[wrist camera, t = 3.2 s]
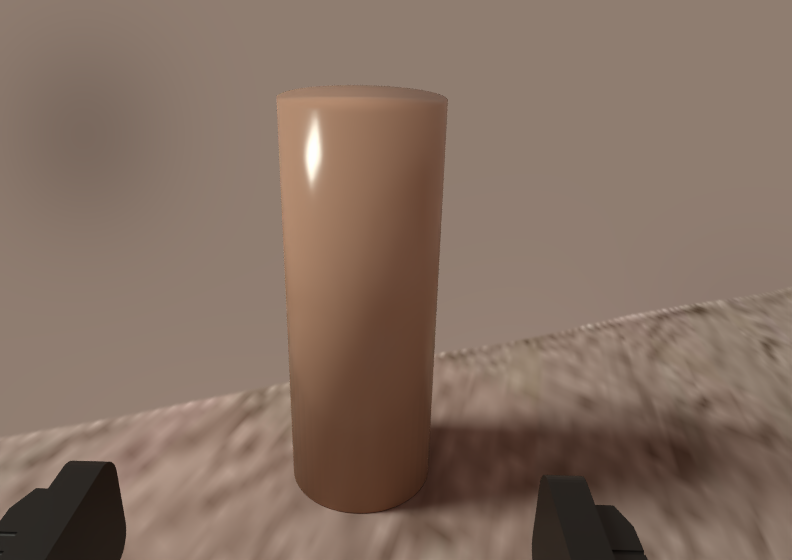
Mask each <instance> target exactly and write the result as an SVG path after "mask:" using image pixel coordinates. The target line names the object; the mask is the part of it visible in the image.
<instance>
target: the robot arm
mask: <svg viewBox="0 0 792 560" xmlns="http://www.w3.org/2000/svg"><path fill="white" fill-rule="evenodd" d="M125 539H126V522H125V516H124V510H123V505H122V499H121V493H120V487H119V482H118V476H117V471H116V467H115V465H114V464H113V463H112V462H100V461H69V462H68V463H66V464H65V466H64V467H63V468H62V470H61V471H60V472H59V474H58V475H57V477H56V478H55V480H54V481H53V482H52V484H51V485H50V487H49V488H48V489H44V488H36V489H35V490H33V491H32V492H31V493H29V494H28V495H27V496H25V497H24V498H23V499H21V500H20V501H19V502H17V503H16V504H14V505H13V506H12V507H10V508H9V510H8V511H7V512H6V514H5V515H4V516H3V518H2V519H1V520H0V560H120V559H121V556H122V553H123V550H124V545H125ZM532 560H648V559H647V557H646V555H644V550H643V548H642V545H641V543H640V541H639V538H638V536H637V534H636V531H635V529H634V527H633V526H632V525H631V523H630V522H629V521H628V520H627V519H626V518H625V517H624V516H623V515H622V514H621V513H620V512H619V511H618V510H617V509H616V508H615V507H614V506H611V505H595V504H594V501H593V498H592V495H591V493H590V490H589V487H588V485H587V482H586V480H585V478H584V477H583V476H560V475H543V476H542V478H541V481H540V487H539V494H538V501H537V508H536V515H535V522H534V529H533V537H532Z"/></svg>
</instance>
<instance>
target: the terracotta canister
mask: <svg viewBox="0 0 792 560" xmlns="http://www.w3.org/2000/svg"><path fill="white" fill-rule="evenodd" d="M447 106H448V99H447V98H446V97H444V96H442V95H440V94H437V93H433V92H429V91H423V90H417V89H410V88H401V87H390V86H368V85H337V86H318V87H308V88H300V89H294V90H289V91H286V92H283V93H281V94H279V95H278V96H277V116H278V138H279V159H280V180H281V202H282V222H283V244H284V265H285V288H286V309H287V331H288V352H289V372H290V395H291V416H292V437H293V459H294V475H295V479H296V482H297V484H298V486H299V487H300V489H301V490H302V491H303V492H304V493H305V494H306V495H307V496H308V497H309V498H310V499H312V500H313V501H315V502H316V503H318V504H320V505H322V506H325V507H327V508H330V509H333V510H337V511H342V512H348V513H371V512H378V511H383V510H387V509H390V508H393V507H395V506H398V505H400V504H402V503H404V502H405V501H407V500H409V499H410V498H411V497H413V496H414V495H415V494H416V493H417V492H418V491H419V490H420V489H421V487H422V486H423V484H424V482H425V480H426V478H427V474H428V460H429V441H430V423H431V404H432V385H433V367H434V348H435V327H436V311H437V291H438V274H439V255H440V235H441V216H442V198H443V180H444V162H445V143H446V142H445V141H446V124H447Z"/></svg>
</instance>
